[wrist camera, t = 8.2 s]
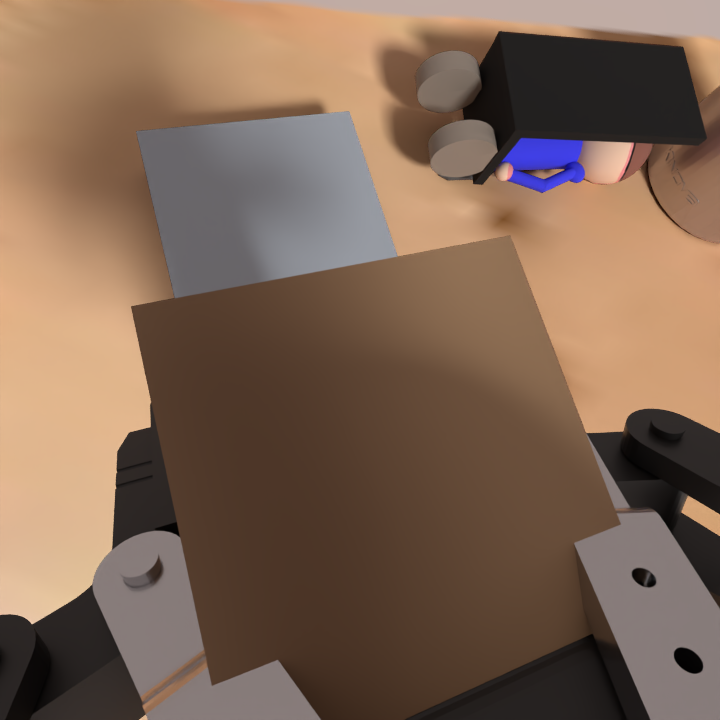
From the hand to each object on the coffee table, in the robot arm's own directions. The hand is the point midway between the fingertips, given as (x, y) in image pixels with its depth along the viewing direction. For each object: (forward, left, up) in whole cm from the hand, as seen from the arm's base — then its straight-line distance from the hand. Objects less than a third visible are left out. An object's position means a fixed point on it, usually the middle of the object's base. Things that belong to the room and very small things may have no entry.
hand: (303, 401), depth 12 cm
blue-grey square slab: (-3, -11, -14) cm, 18 cm away
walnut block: (0, +2, -4) cm, 5 cm away
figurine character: (-20, -14, -14) cm, 28 cm away
